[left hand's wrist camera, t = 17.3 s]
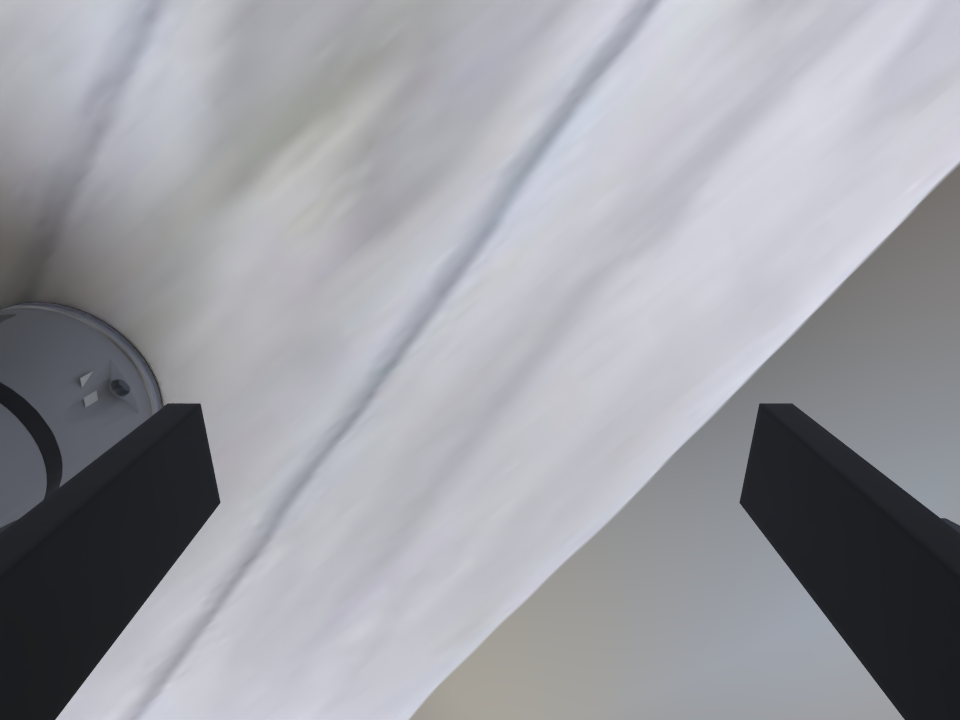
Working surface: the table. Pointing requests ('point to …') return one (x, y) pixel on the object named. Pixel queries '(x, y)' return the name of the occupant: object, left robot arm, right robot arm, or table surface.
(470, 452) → the table surface
